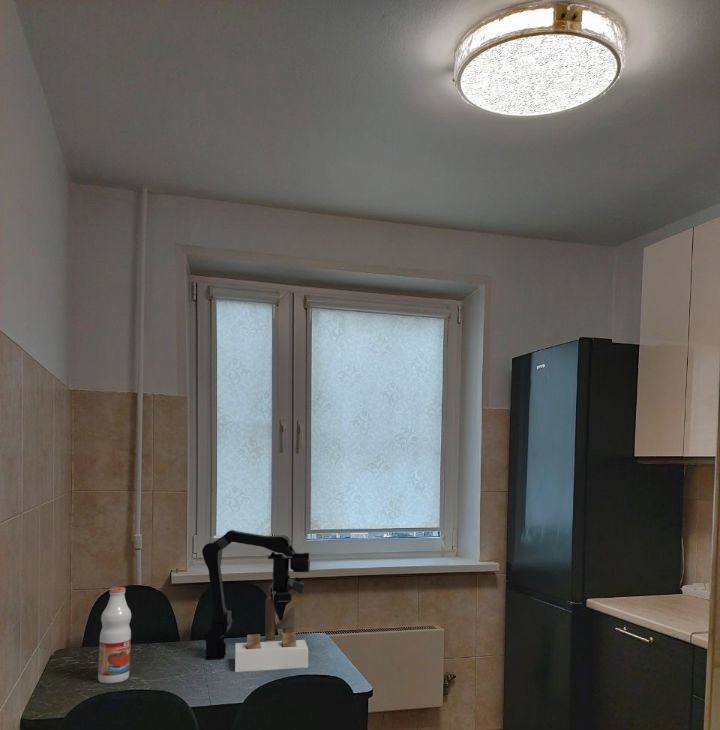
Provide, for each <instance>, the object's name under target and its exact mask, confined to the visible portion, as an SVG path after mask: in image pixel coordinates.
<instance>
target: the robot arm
mask: <svg viewBox="0 0 720 730" xmlns="http://www.w3.org/2000/svg"><path fill="white" fill-rule="evenodd" d="M232 543H236V544H242V545H243V544H244V545H248V546H249V545H250V546H255V547H262V548H264V549H267V550H269V551H271V554H270V555H268V557H267V559H268V560H272V574H271V577H272V582H271V584H270V585H269V596H270V598H271V599H272V602H273V605H274V608H275V615H277V618H278V621H279V620H282V619H283V616H284V615H285V611H286V607H287V605H288V604H289V603H291V602H292V600H293V599H292V597H293V595H292V593H291V592H290V591H291V590H292V591H295V592H297V593H299V594H302V593H303V592H304V591H303V590H304V588H305V584H304V582H303V581H301V578H300V577H298V576H295V577H294V578H291V576H290V574H289V573H290V570H291V571H292V572H293V573H309V572H310V570H311V560H310V552H296V551H295V549H294V548H293V547H292V545H291V540H290V538H289V537H288V536H287V535H284V534H282V535H281V534H280V535H279V534H278V535H277V534H276V535H275V534H274V535H273V534H272V535H263V534H258V533H257V534H255V533H250V532H244V531H239V530H235V529H230V530H228V531H227V532H226V533H225V534H224V535H222V536H221V537H219V538H218V539H217V540H215V541H210V542H208V543H207V544H205V545H204V546H203V547H202V551H201V553H202V557H203V559H204V563H205V565H206V567H207V569H208V576H209V577H208V578H209V585H210V593H211V594H210V595H211V603H212V614H211V622H210V624H211V625H210V629H209V630H208V632H206V633H205V635H204V639H205V657H204V660H217V659H216V658H219V659H220V658H223V659H225V656H226V651H227V644H226V643H227V641H225V635H226V634H227V632H228V631H229V630H230V629H231V627H232V623H233V618H232V610H228V609H227V607H226V603H225V601H226V600H225V595H224V585H223V577H222V570H221V569H222V568H221V564H222V560H223V559H222V557H223V550H224V549H225V548H226V547H228V546H229V545H231V544H232ZM220 660H221V659H220Z"/></svg>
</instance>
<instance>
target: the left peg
mask: <svg viewBox="0 0 720 730" xmlns="http://www.w3.org/2000/svg"><path fill="white" fill-rule="evenodd" d="M260 642H261V634H260V633H258V634H257V633H256V634H254V633H253V634H247V635H246V643H247V649H260Z"/></svg>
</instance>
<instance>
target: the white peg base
mask: <svg viewBox="0 0 720 730" xmlns="http://www.w3.org/2000/svg"><path fill="white" fill-rule="evenodd" d="M234 645H235V649H234V650H235V651H234V653H235V655H234V659H235V660H234V667H235V668H234V672H235V673H240V672H257V671H274V670H289V669H293V670H294V669H307V668H309V648H308V644H307V642H306V640H305V639H296V647H282V641H270V642H264V641H260V649H247V642H235V644H234Z"/></svg>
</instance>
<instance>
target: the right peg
mask: <svg viewBox="0 0 720 730" xmlns="http://www.w3.org/2000/svg"><path fill="white" fill-rule="evenodd" d="M281 637H282V647H296V640H297V635H296V632H295V631H294V633H283V632H282V633H281Z"/></svg>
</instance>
